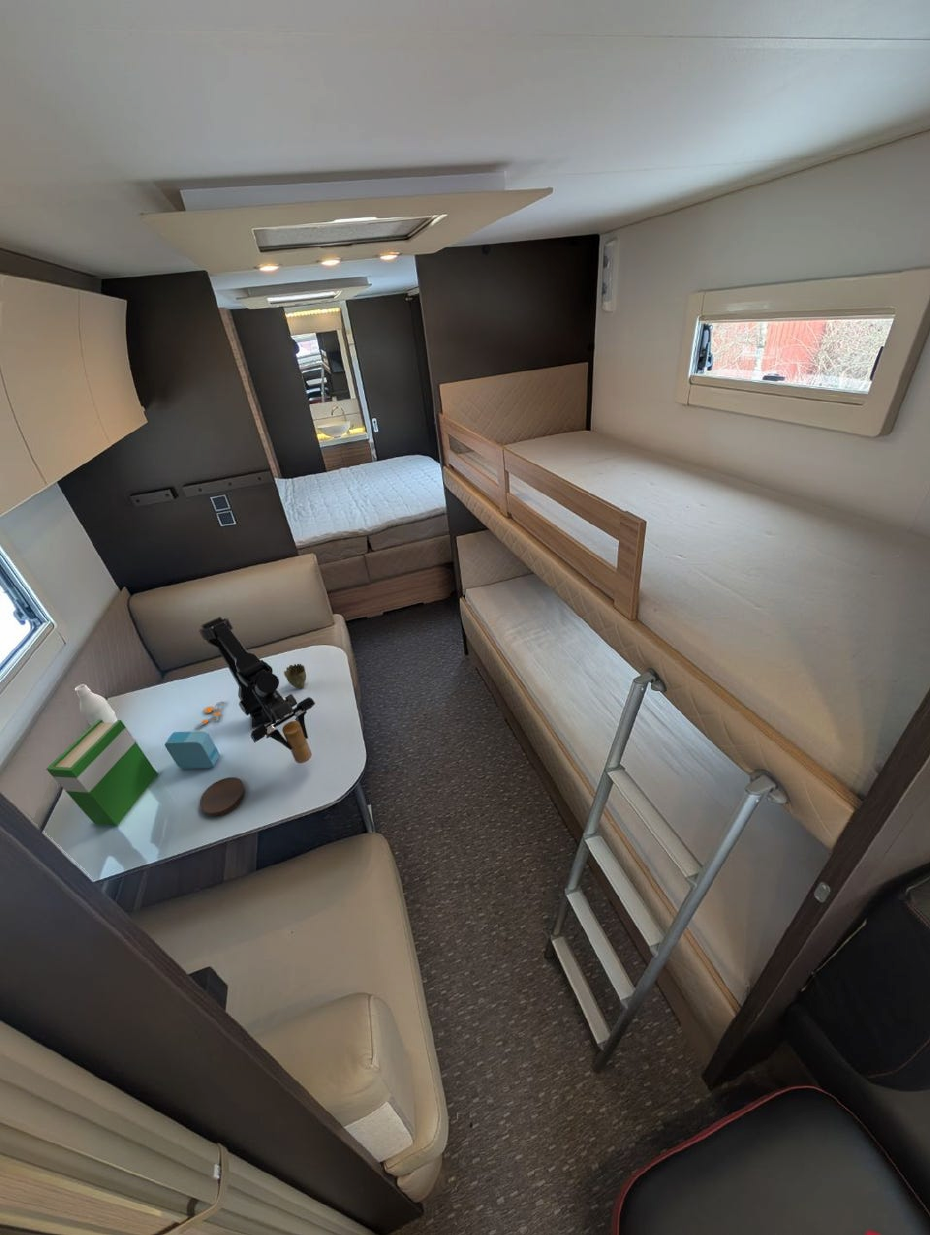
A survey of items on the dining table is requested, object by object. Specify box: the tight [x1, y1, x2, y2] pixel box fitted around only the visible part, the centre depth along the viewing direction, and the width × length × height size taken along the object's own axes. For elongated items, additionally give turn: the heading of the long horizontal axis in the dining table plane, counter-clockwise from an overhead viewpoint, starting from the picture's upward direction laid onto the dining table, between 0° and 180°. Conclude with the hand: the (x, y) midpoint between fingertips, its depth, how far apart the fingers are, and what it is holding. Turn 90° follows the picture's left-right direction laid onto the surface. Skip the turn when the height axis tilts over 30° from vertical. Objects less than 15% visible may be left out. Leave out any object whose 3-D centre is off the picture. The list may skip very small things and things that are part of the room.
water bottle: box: [74, 683, 118, 727], centre depth 156 cm, size 7×7×25 cm
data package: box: [164, 730, 221, 770], centre depth 148 cm, size 12×4×12 cm, turn 87°
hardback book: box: [46, 719, 159, 827], centre depth 136 cm, size 18×7×24 cm, turn 172°
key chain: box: [195, 701, 226, 730], centre depth 169 cm, size 13×7×1 cm, turn 2°
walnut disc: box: [199, 776, 247, 818], centre depth 139 cm, size 12×12×2 cm
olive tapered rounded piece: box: [283, 663, 307, 689], centre depth 177 cm, size 8×7×8 cm
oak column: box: [281, 720, 313, 764], centre depth 139 cm, size 5×5×12 cm
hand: (299, 744), depth 138 cm, fingers closed on oak column, 5 cm apart
